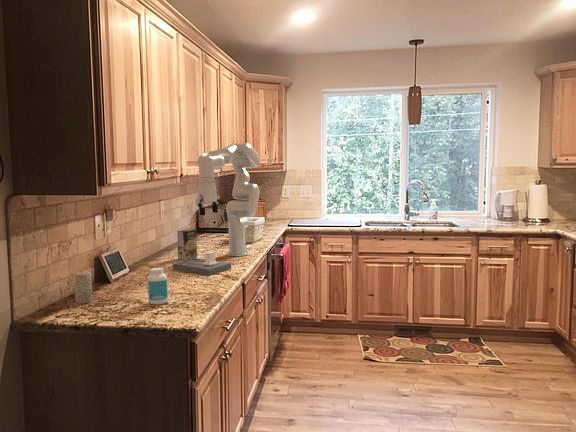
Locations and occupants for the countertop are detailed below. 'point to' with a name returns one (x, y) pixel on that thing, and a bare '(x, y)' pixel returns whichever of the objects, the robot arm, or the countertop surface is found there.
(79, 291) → the grey cylinder
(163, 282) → the pill bottle
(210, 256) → the fader
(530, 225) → the countertop surface
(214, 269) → the console
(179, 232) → the coffee box
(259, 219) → the storage basket
